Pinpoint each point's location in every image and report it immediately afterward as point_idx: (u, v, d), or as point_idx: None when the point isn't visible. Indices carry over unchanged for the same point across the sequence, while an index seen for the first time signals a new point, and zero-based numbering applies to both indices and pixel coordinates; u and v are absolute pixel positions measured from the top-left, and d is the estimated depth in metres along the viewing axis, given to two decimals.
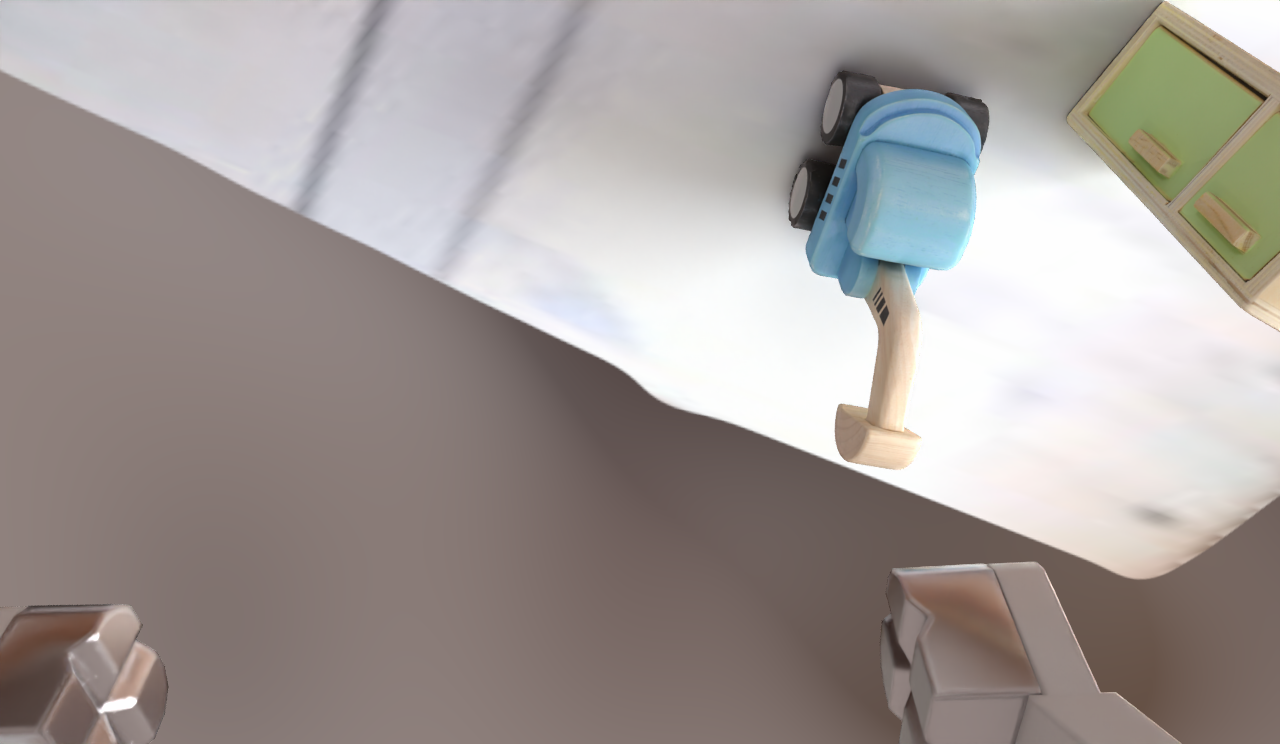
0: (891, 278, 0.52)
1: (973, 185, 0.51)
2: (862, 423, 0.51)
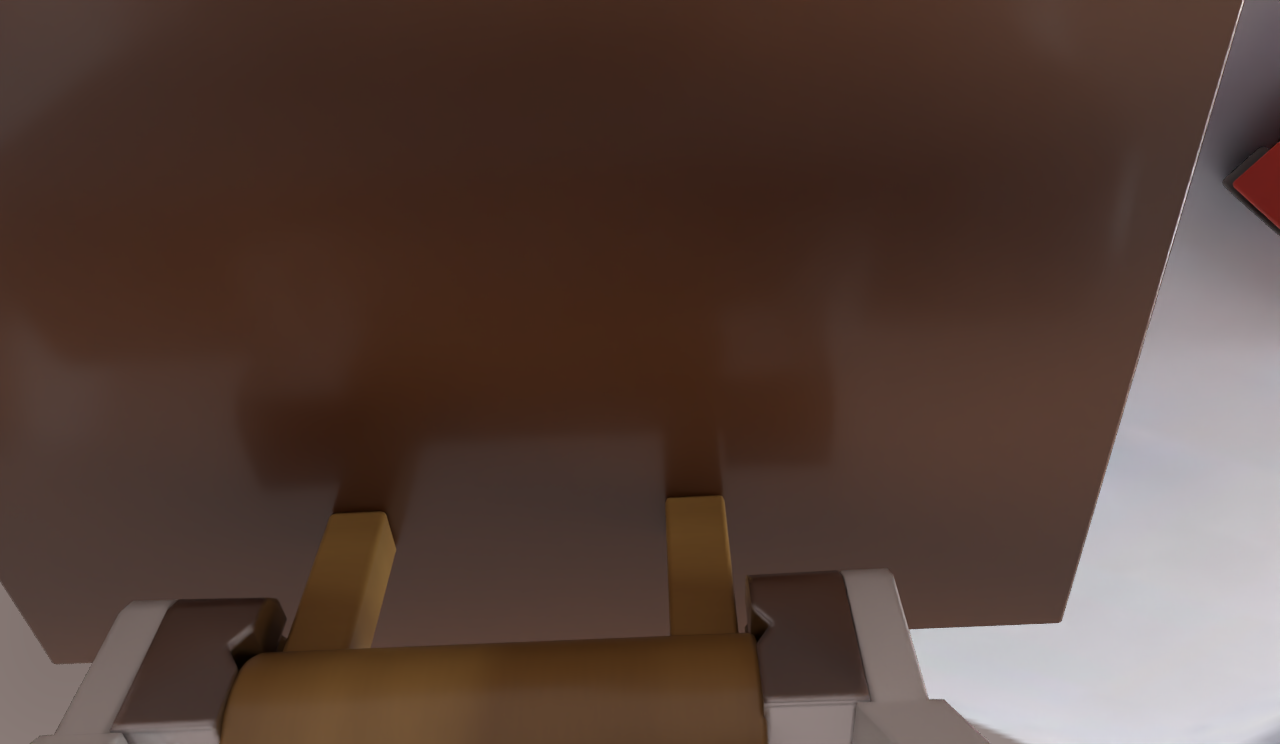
0: None
1: None
2: None
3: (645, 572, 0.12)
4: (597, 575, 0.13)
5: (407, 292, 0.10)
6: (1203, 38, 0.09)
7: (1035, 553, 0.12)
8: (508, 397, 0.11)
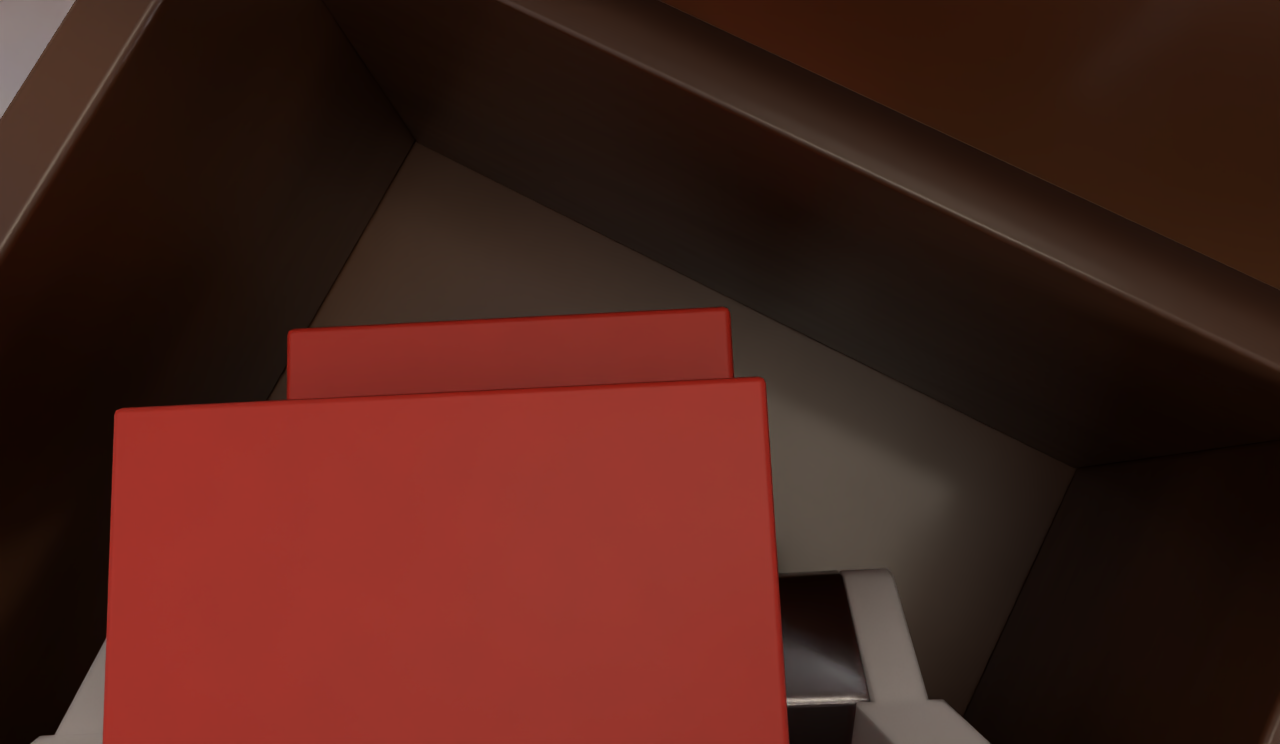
0: None
1: None
2: None
3: None
4: None
5: None
6: None
7: None
8: None
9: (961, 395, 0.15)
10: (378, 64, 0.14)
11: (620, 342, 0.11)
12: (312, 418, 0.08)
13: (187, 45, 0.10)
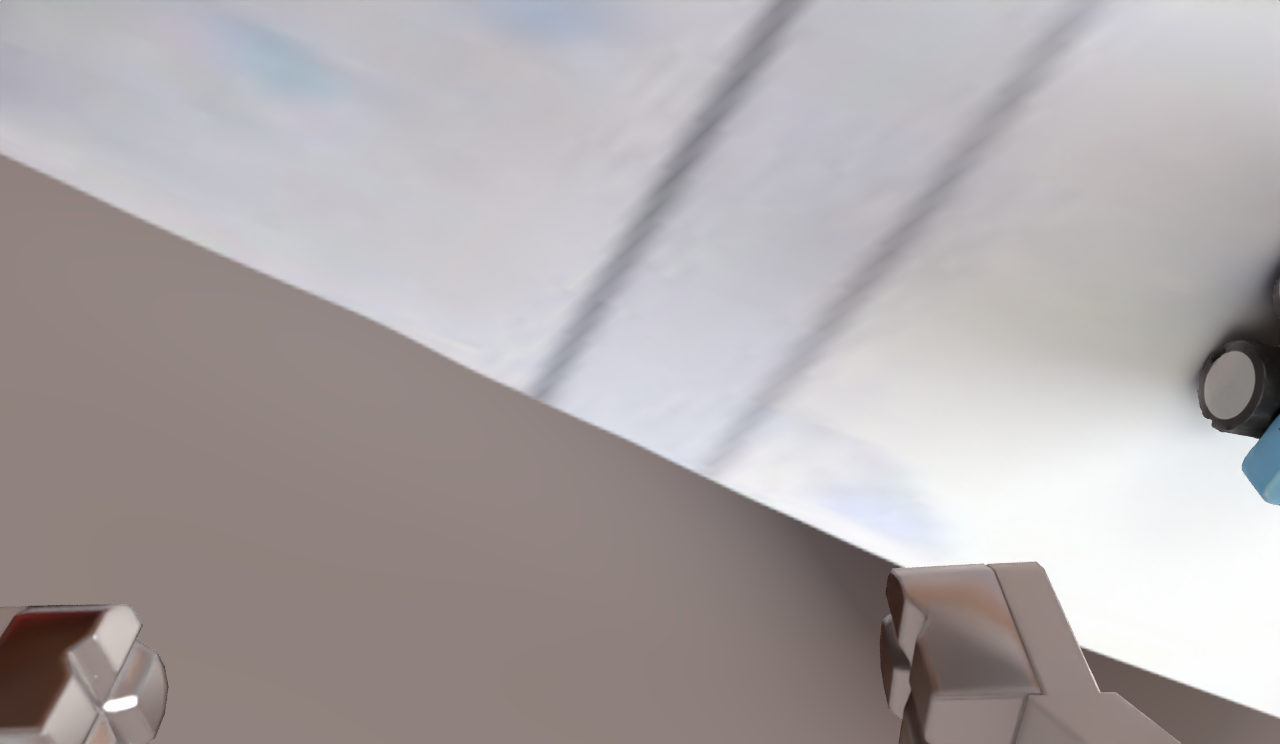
0: None
1: None
2: None
3: None
4: None
5: None
6: None
7: None
8: None
9: None
10: None
11: None
12: None
13: None
